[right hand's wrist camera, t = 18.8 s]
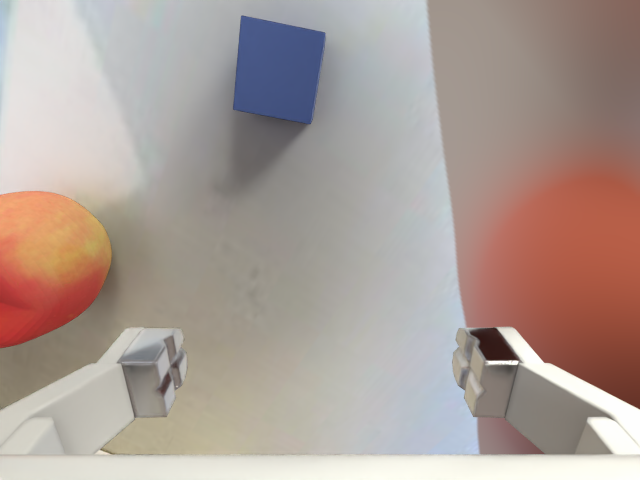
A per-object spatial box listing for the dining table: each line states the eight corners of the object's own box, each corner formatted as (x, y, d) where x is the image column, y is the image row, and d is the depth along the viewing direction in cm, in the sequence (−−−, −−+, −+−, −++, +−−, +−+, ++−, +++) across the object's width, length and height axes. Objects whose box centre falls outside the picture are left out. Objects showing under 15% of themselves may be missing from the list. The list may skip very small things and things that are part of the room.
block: (312, 120, 26) (310, 124, 22) (247, 107, 25) (232, 109, 21) (325, 43, 24) (325, 32, 20) (254, 29, 24) (241, 15, 19)
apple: (138, 295, 31) (57, 381, 21) (23, 278, 30) (-111, 359, 21) (135, 186, 27) (38, 232, 18) (5, 165, 27) (-165, 201, 17)
